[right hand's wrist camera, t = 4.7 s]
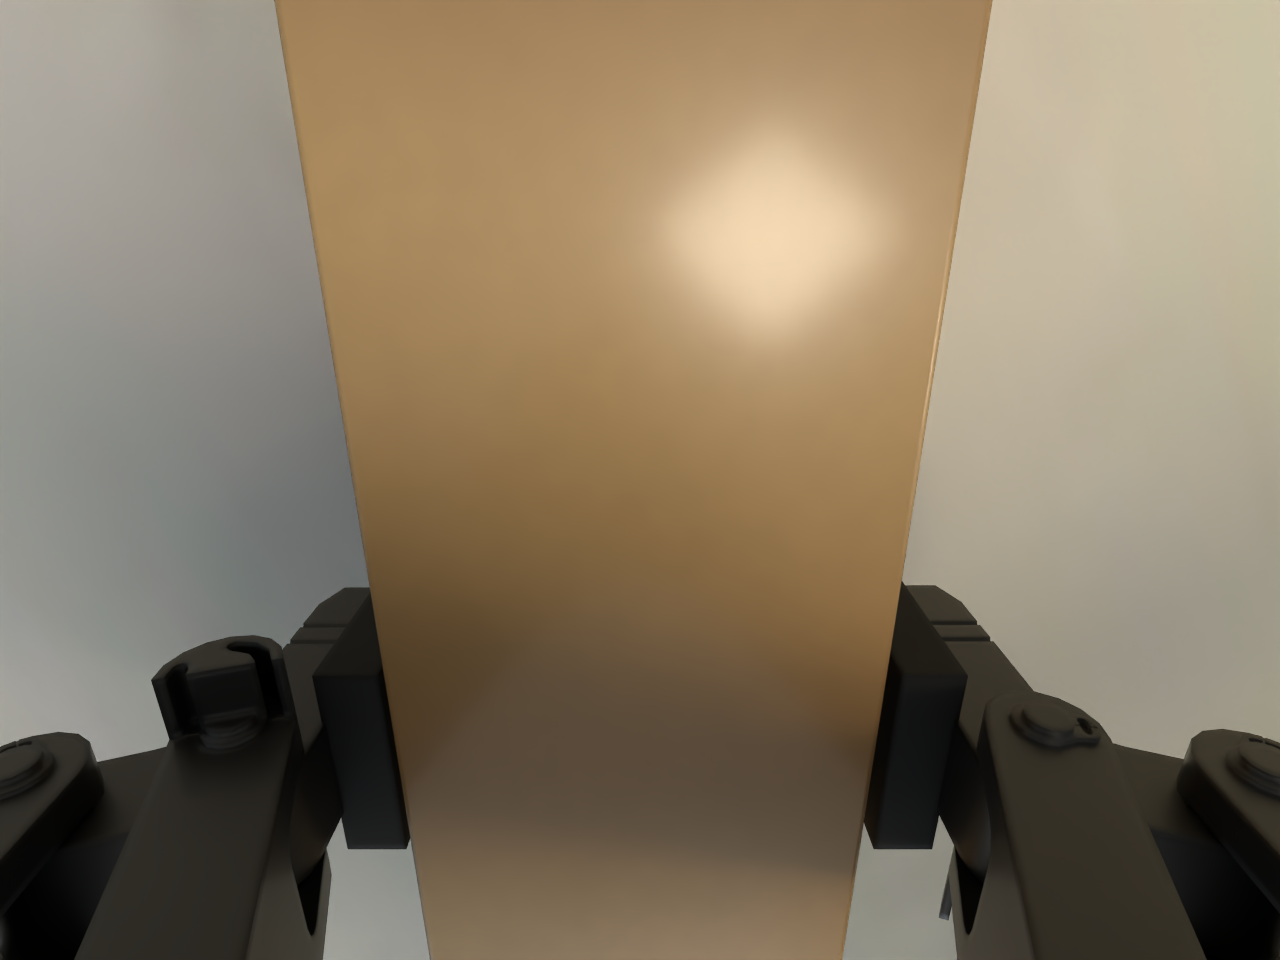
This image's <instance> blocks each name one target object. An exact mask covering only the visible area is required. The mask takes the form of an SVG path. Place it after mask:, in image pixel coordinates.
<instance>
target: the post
mask: <svg viewBox="0 0 1280 960" xmlns="http://www.w3.org/2000/svg"><path fill="white" fill-rule="evenodd" d="M275 6H276V13H277V19H278V25H279V31H280V37H281V43H282V50H283V56H284V62H285V68H286V74H287V80H288V87H289V93H290V99H291V105H292V111H293V117H294V123H295V130H296V136H297V142H298V148H299V154H300V160H301V167H302V173H303V179H304V185H305V191H306V197H307V204H308V210H309V216H310V222H311V228H312V234H313V241H314V247H315V253H316V259H317V265H318V271H319V277H320V284H321V290H322V296H323V302H324V308H325V314H326V321H327V327H328V333H329V339H330V345H331V351H332V358H333V364H334V370H335V376H336V382H337V388H338V394H339V401H340V407H341V413H342V419H343V425H344V431H345V438H346V444H347V450H348V456H349V462H350V468H351V475H352V481H353V487H354V493H355V499H356V505H357V511H358V518H359V524H360V530H361V536H362V542H363V548H364V555H365V561H366V567H367V573H368V579H369V585H370V592H371V598H372V604H373V610H374V616H375V622H376V628H377V635H378V641H379V647H380V653H381V659H382V665H383V672H384V678H385V684H386V690H387V696H388V702H389V709H390V715H391V721H392V727H393V733H394V739H395V746H396V752H397V758H398V764H399V770H400V776H401V782H402V789H403V795H404V801H405V807H406V813H407V819H408V826H409V832H410V838H411V844H412V850H413V856H414V863H415V869H416V875H417V881H418V887H419V893H420V899H421V906H422V912H423V918H424V924H425V930H426V936H427V943H428V949H429V955H430V960H842V958H843V951H844V945H845V938H846V932H847V926H848V919H849V913H850V907H851V900H852V894H853V887H854V881H855V875H856V868H857V862H858V855H859V849H860V843H861V836H862V830H863V824H864V817H865V811H866V804H867V798H868V792H869V785H870V779H871V772H872V766H873V760H874V753H875V747H876V740H877V734H878V728H879V721H880V715H881V709H882V702H883V696H884V689H885V683H886V677H887V670H888V664H889V657H890V651H891V645H892V638H893V632H894V625H895V619H896V613H897V606H898V600H899V594H900V587H901V581H902V574H903V568H904V562H905V555H906V549H907V542H908V536H909V530H910V523H911V517H912V511H913V504H914V498H915V491H916V485H917V479H918V472H919V466H920V459H921V453H922V447H923V440H924V434H925V427H926V421H927V415H928V408H929V402H930V396H931V389H932V383H933V376H934V370H935V364H936V357H937V351H938V344H939V338H940V332H941V325H942V319H943V312H944V306H945V300H946V293H947V287H948V281H949V274H950V268H951V261H952V255H953V249H954V242H955V236H956V229H957V223H958V217H959V210H960V204H961V198H962V191H963V185H964V178H965V172H966V166H967V159H968V153H969V146H970V140H971V134H972V127H973V121H974V114H975V108H976V102H977V95H978V89H979V83H980V76H981V70H982V63H983V57H984V51H985V44H986V38H987V31H988V25H989V19H990V12H991V6H992V0H275Z"/></svg>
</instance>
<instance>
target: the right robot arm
mask: <svg viewBox="0 0 1280 960" xmlns="http://www.w3.org/2000/svg"><path fill="white" fill-rule="evenodd" d="M151 681H152V685H153V688H154V691H155V694H156V697H157V701H158V704H159V707H160V710H161V714H162V717H163V720H164V723H165V726H166V730H167V733H168V736H169V739H170V740H169V742H168V745H167V747H163V748H160V749H156V750H152V751H147V752H143V753H138V754H133V755H129V756H124V757H119V758H115V759H110V760H105V761H101V762H97V761H96V758H95V755H94V753H93V750H92V747H91V744H90V742H89V741H88V740H86V739H85V738H83V737H82V736H81V735H79V734H74V733H64V732H55V733H49V734H43V735H36V736H31V737H28V738H24V739H20V740H19V741H14V742H11V743H9V744H6V745H3V746H1V747H0V960H323V952H324V943H325V933H326V924H327V914H328V904H329V895H330V885H331V869H330V862H329V857H328V853H327V848H326V847H327V845H328V843H329V841H330V839H331V837H332V835H333V833H334V831H335V829H336V827H337V825H338V823H339V821H340V819H341V818H342V823H343V828H344V833H345V837H346V842H347V847H348V849H406V848H407V846H408V843H409V840H410V832H409V826H408V819H407V813H406V807H405V801H404V795H403V789H402V782H401V776H400V770H399V764H398V758H397V752H396V746H395V739H394V733H393V727H392V721H391V715H390V709H389V702H388V696H387V690H386V684H385V678H384V672H383V665H382V659H381V653H380V647H379V641H378V635H377V628H376V622H375V616H374V610H373V604H372V598H371V592H370V588H344V589H342V590H341V591H339V592H338V593H336V594H334V595H333V596H331V597H330V598H328V599H327V600H325V601H323V602H322V603H320V604H319V605H318V606H317V608H316V609H315V610H314V611H313V613H312V614H311V615H310V616H309V617H308V619H307V620H306V621H305V622H304V626H303V628H300V629H299V630H298V631H297V632H296V634H295V635H294V636H293V637H292V639H291V642H290V644H287V645H286V646H285V647H284V648H283V650H282V647H281V646H280V645H279V644H277V643H276V642H275V641H273V640H272V639H270V638H265V637H260V636H255V635H250V636H234V637H228V638H224V639H220V640H216V641H211V642H207V643H205V644H202V645H200V646H198V647H195V648H193V649H191V650H188V651H186V652H183V653H182V654H180V655H179V656H177V657H176V658H174V659H173V660H171V661H170V662H168V663H167V664H165V665H164V666H163V667H162V668H161V669H160V670H159V671H158V673H157V674H156V675H155V676H154V677H153V678H152V680H151ZM939 815H940V817H941V819H942V821H943V823H944V825H945V827H946V829H947V832H948V834H949V836H950V838H951V840H952V842H953V844H954V848H953V853H952V857H951V862H950V866H949V871H948V875H947V880H946V884H945V889H944V893H943V898H942V902H941V908H940V914H939V918H941V919H945V920H949V915H950V911H951V907H952V912H953V922H954V931H955V941H956V950H957V960H1280V743H1278V742H1275V741H1273V740H1270V739H1268V738H1266V739H1265V738H1262V737H1261V736H1258V735H1254V734H1250V733H1245V732H1239V731H1232V730H1226V729H1217V730H1207V731H1202V732H1200V733H1199V734H1198V735H1196V736H1195V737H1193V738H1192V739H1191V742H1190V744H1189V747H1188V750H1187V753H1186V755H1185V758H1184V759H1180V758H1175V757H1170V756H1166V755H1161V754H1156V753H1152V752H1147V751H1142V750H1137V749H1133V748H1128V747H1124V746H1120V745H1117V744H1113V743H1112V741H1111V739H1110V737H1109V736H1108V735H1107V733H1106V732H1105V730H1104V729H1103V728H1102V726H1101V725H1100V724H1099V723H1098V722H1097V721H1096V720H1094V719H1093V718H1092V717H1090V716H1089V715H1088V714H1086V713H1085V712H1084V711H1083V710H1081V709H1079V708H1077V707H1075V706H1073V705H1071V704H1069V703H1067V702H1065V701H1063V700H1061V699H1059V698H1055V697H1052V696H1048V695H1045V694H1041V693H1038V692H1034V691H1033V690H1032V688H1031V687H1030V686H1029V685H1028V683H1027V682H1026V681H1025V680H1024V679H1023V677H1022V676H1021V675H1020V674H1019V672H1018V671H1017V670H1016V669H1015V667H1014V666H1013V665H1012V664H1011V663H1010V661H1009V660H1008V659H1007V658H1006V656H1005V655H1004V654H1003V653H1002V651H1001V650H1000V649H999V648H998V647H997V645H996V644H995V643H994V642H991V641H990V637H989V635H988V634H987V633H986V632H985V631H984V629H983V628H982V627H981V626H980V625H977V621H976V619H975V618H974V617H973V616H972V615H971V613H970V612H969V611H968V610H967V608H966V607H965V606H964V605H963V604H962V602H960V601H959V600H957V599H956V598H954V597H953V596H951V595H949V594H948V593H946V592H945V591H943V590H942V589H940V588H938V587H937V586H935V585H904V583H903V582H902V581H901V587H900V594H899V600H898V606H897V613H896V619H895V625H894V632H893V638H892V645H891V651H890V657H889V664H888V670H887V677H886V683H885V689H884V696H883V702H882V709H881V715H880V721H879V728H878V734H877V740H876V747H875V753H874V760H873V766H872V772H871V779H870V785H869V792H868V798H867V804H866V811H865V817H864V824H865V826H866V829H867V832H868V835H869V837H870V840H871V843H872V846H873V848H874V849H932V847H933V842H934V837H935V832H936V828H937V823H938V818H939Z"/></svg>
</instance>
